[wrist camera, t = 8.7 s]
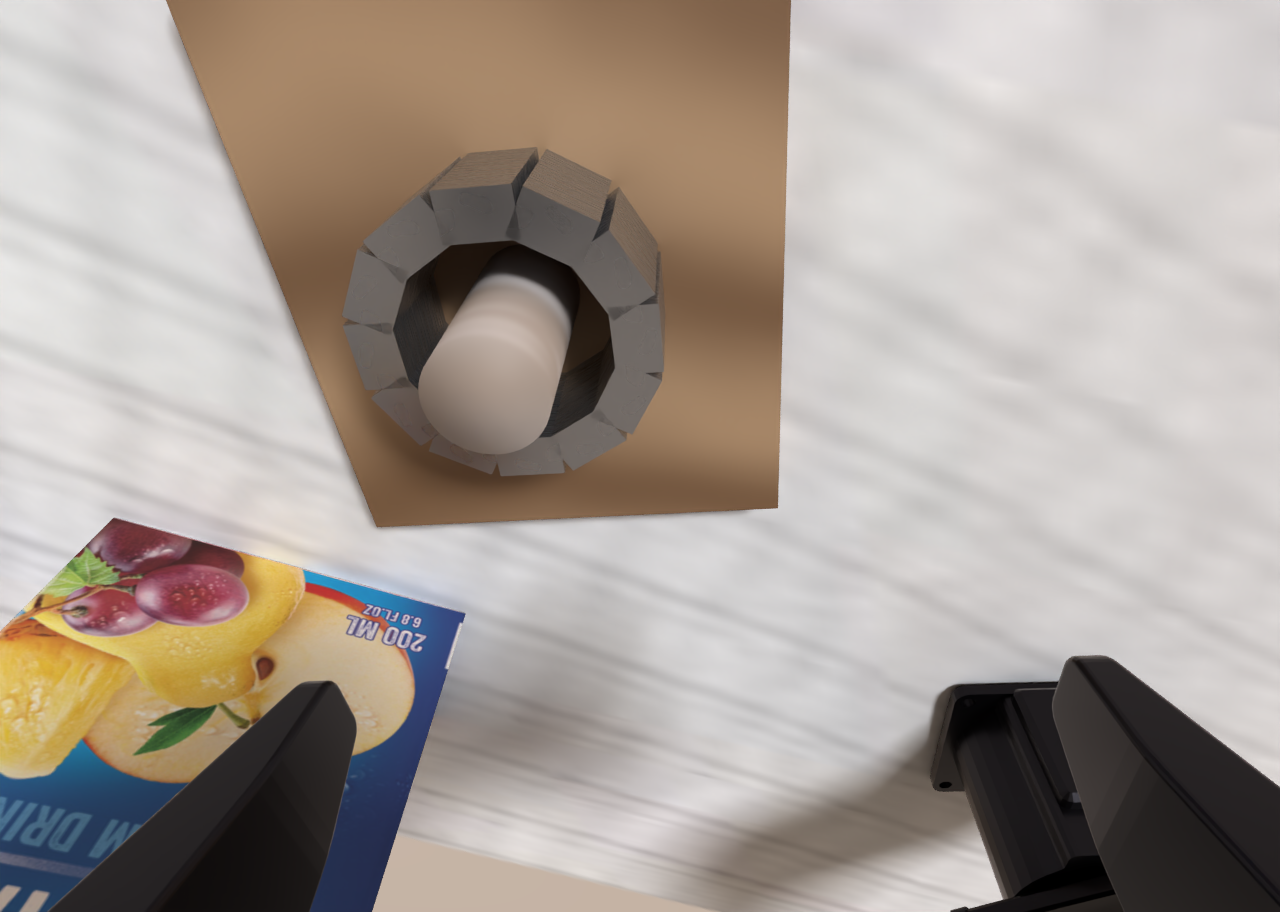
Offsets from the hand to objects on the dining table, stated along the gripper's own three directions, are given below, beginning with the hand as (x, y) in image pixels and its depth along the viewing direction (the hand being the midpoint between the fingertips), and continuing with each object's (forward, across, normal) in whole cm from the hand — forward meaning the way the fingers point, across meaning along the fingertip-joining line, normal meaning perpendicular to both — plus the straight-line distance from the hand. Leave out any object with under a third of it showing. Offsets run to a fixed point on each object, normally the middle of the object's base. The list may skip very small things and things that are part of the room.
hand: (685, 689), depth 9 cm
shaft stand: (+12, +4, -1) cm, 12 cm away
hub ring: (+10, +4, -1) cm, 11 cm away
